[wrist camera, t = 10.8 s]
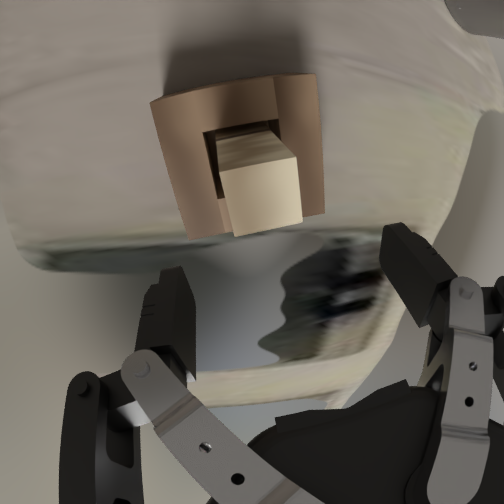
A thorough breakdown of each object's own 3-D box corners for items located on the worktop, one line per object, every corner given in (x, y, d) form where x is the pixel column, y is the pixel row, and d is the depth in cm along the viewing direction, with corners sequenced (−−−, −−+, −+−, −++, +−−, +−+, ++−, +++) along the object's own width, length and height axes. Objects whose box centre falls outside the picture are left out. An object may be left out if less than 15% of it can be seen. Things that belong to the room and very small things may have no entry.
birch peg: (259, 118, 24) (296, 156, 14) (266, 159, 26) (303, 222, 16) (214, 127, 24) (218, 171, 14) (223, 168, 26) (234, 237, 16)
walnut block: (293, 72, 22) (315, 73, 17) (304, 186, 29) (324, 213, 25) (162, 96, 22) (149, 102, 17) (191, 208, 29) (189, 240, 24)
